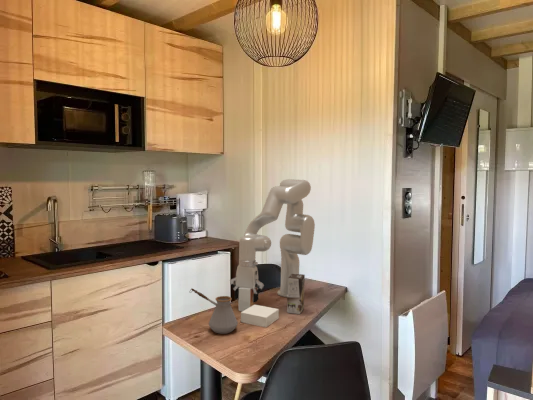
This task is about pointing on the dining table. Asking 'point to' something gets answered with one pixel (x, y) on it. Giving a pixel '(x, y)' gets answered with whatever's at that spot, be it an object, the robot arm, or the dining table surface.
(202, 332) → the dining table surface
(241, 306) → the small box
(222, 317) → the coffee pot
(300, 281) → the coffee box
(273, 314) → the cream white block
